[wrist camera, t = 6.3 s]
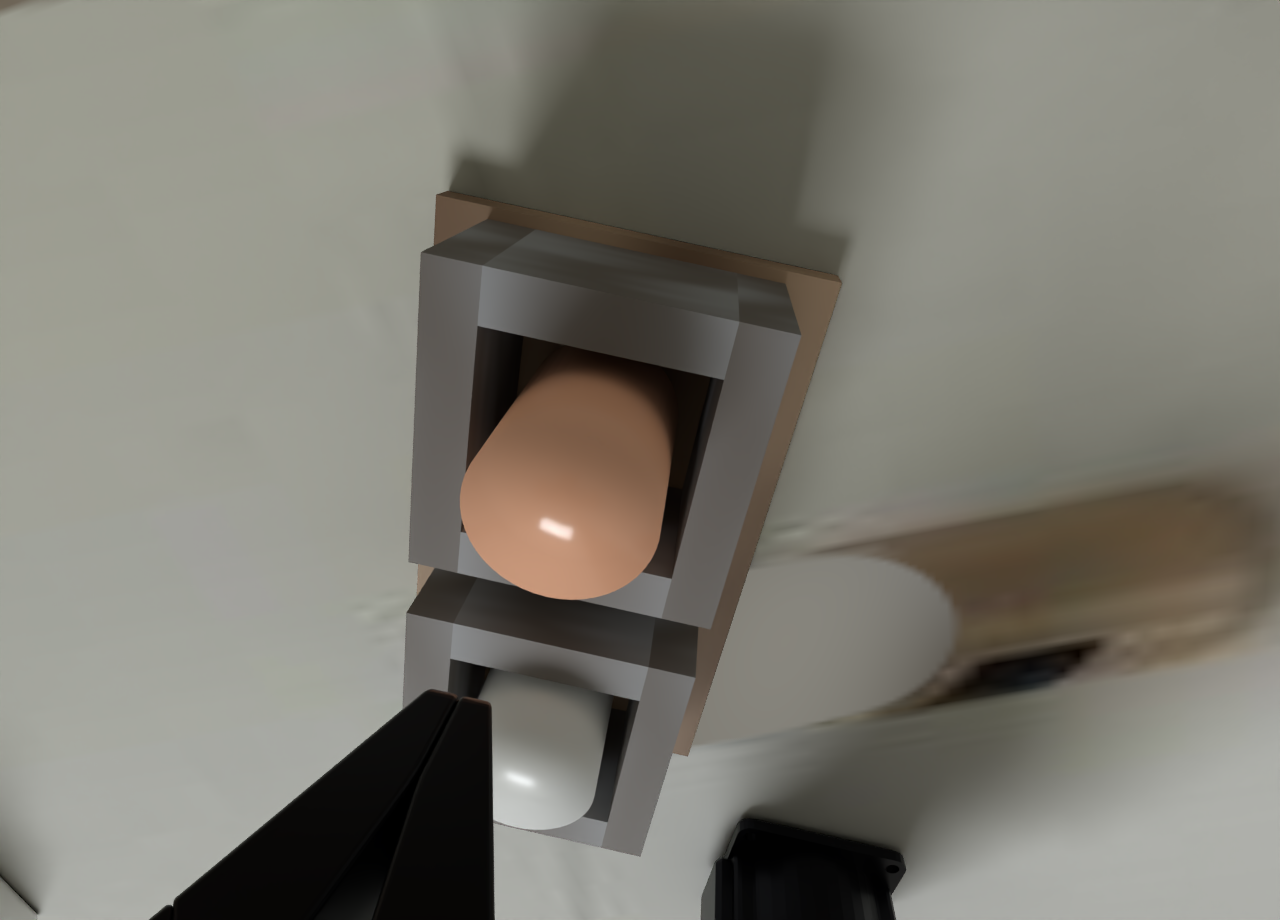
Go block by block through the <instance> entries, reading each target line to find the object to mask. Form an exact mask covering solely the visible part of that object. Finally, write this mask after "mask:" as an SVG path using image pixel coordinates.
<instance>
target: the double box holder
mask: <svg viewBox="0 0 1280 920" xmlns="http://www.w3.org/2000/svg"><path fill="white" fill-rule="evenodd" d="M841 285H842V282H841V280H840V279H839V277H838V276H837V275H833V274H828V273H823V272H819V271H814V270H810V269H805V268H800V267H796V266H791V265H787V264H782V263H777V262H773V261H768V260H764V259H759V258H754V257H750V256H745V255H741V254H736V253H731V252H727V251H722V250H718V249H713V248H708V247H704V246H699V245H695V244H690V243H685V242H681V241H676V240H672V239H667V238H662V237H658V236H653V235H649V234H644V233H639V232H635V231H630V230H626V229H621V228H616V227H612V226H607V225H603V224H598V223H593V222H589V221H584V220H580V219H575V218H570V217H566V216H561V215H557V214H552V213H547V212H543V211H538V210H534V209H529V208H524V207H520V206H515V205H511V204H506V203H501V202H497V201H492V200H488V199H483V198H478V197H474V196H469V195H465V194H460V193H455V192H451V191H446V192H443V193H440V194H437V195H436V210H435V231H434V246H432V247H430V248H428V249H426V250H424V251H422V252H421V263H420V288H419V313H418V338H417V363H416V388H415V413H414V438H413V463H412V488H411V513H410V538H409V562H411V563H416V564H418V582H417V597H416V599H415V600H414V602H413V603H412V605H411V606H410V608H409V610H408V611H407V613H406V638H405V663H404V687H403V709H404V708H405V707H406V706H407V705H409V704H410V703H411V702H412V701H413V700H415V699H416V698H417V697H418V696H419V695H421V694H422V693H423V692H424V691H426V690H429V689H436V690H440V691H444V692H449V693H453V694H456V695H457V696H458V697H459V699H460V698H461V697H471V698H475V699H478V697H479V695H480V692H481V690H482V688H483V685H484V683H485V680H486V678H487V676H488V673H489V671H490V668H494V669H499V670H503V671H508V672H512V673H517V674H521V675H526V676H530V677H534V678H539V679H543V680H548V681H552V682H557V683H561V684H565V685H570V686H574V687H579V688H583V689H588V690H592V691H597V692H601V693H605V694H610V695H614V697H613V702H612V707H611V713H610V718H609V723H608V728H607V733H606V739H605V744H604V749H603V754H602V760H601V765H600V770H599V775H598V780H597V786H596V791H595V796H594V800H593V803H592V805H591V807H590V808H589V810H588V811H587V812H586V813H585V814H584V815H583V816H582V817H581V818H580V819H578V820H576V821H575V822H573V823H571V824H568V825H566V826H562V827H559V828H554V829H546V830H531V829H522V828H517V827H513V826H509V825H506V824H503V823H500V822H497V821H495V820H493V823H495V824H500V825H504V826H509V827H513V828H517V829H522V830H526V831H530V832H535V833H539V834H544V835H548V836H552V837H557V838H561V839H566V840H570V841H574V842H579V843H583V844H588V845H592V846H596V847H601V848H605V849H609V850H614V851H618V852H623V853H627V854H631V855H636V856H641V853H642V850H643V846H644V843H645V840H646V837H647V833H648V830H649V827H650V824H651V820H652V817H653V814H654V811H655V808H656V804H657V801H658V798H659V795H660V791H661V788H662V785H663V782H664V778H665V775H666V772H667V769H668V766H669V762H670V759H671V756H672V753H675V754H679V755H684V756H688V755H689V752H690V748H691V745H692V742H693V739H694V736H695V733H696V730H697V727H698V724H699V721H700V718H701V715H702V712H703V709H704V706H705V702H706V699H707V696H708V693H709V690H710V687H711V684H712V681H713V678H714V675H715V672H716V669H717V666H718V662H719V659H720V656H721V653H722V650H723V647H724V644H725V641H726V638H727V635H728V632H729V629H730V626H731V623H732V620H733V617H734V613H735V610H736V607H737V604H738V601H739V598H740V595H741V592H742V589H743V586H744V583H745V579H746V577H747V573H748V570H749V567H750V564H751V561H752V558H753V555H754V552H755V549H756V546H757V543H758V540H759V537H760V534H761V531H762V527H763V524H764V521H765V518H766V515H767V512H768V509H769V506H770V503H771V500H772V497H773V494H774V491H775V488H776V485H777V481H778V478H779V475H780V472H781V469H782V466H783V463H784V460H785V457H786V454H787V451H788V448H789V445H790V442H791V438H792V435H793V432H794V429H795V426H796V423H797V420H798V417H799V414H800V411H801V408H802V405H803V402H804V399H805V396H806V392H807V389H808V386H809V383H810V380H811V377H812V374H813V371H814V368H815V365H816V362H817V359H818V356H819V353H820V349H821V346H822V343H823V340H824V337H825V334H826V331H827V328H828V325H829V322H830V319H831V316H832V313H833V310H834V307H835V303H836V300H837V297H838V294H839V291H840V288H841ZM564 345H567V346H572V347H576V348H581V349H585V350H590V351H595V352H599V353H604V354H608V355H613V356H617V357H622V358H626V359H631V360H636V361H640V362H645V363H649V364H654V365H658V366H660V367H661V368H662V369H663V371H664V372H665V373H666V375H667V376H668V378H669V380H670V381H671V384H672V386H673V388H674V391H675V394H676V398H677V402H678V424H677V431H676V437H675V443H674V450H673V456H672V463H671V469H670V476H669V482H668V488H667V495H666V501H665V508H664V514H663V520H662V527H661V533H660V539H659V543H658V546H657V549H656V551H655V553H654V555H653V557H652V559H651V561H650V562H649V564H648V565H647V566H646V568H645V569H644V570H643V571H642V572H641V573H640V574H639V575H638V576H637V577H636V578H635V579H634V580H632V581H631V582H630V583H628V584H627V585H625V586H624V587H622V588H620V589H618V590H616V591H614V592H611V593H609V594H606V595H602V596H599V597H595V598H588V599H578V600H567V599H556V598H551V597H545V596H542V595H538V594H535V593H532V592H530V591H527V590H524V589H522V588H520V587H518V586H516V585H514V584H512V583H511V582H509V581H508V580H506V579H505V578H503V577H502V576H500V575H499V574H498V573H497V572H495V571H494V570H493V569H492V568H491V567H490V566H489V565H488V564H487V563H486V562H485V561H484V560H483V559H482V558H481V556H480V555H479V554H478V552H477V551H476V550H475V548H474V547H473V545H472V543H471V542H470V540H469V538H468V535H467V533H466V531H465V528H464V525H463V521H462V518H461V511H460V492H461V486H462V482H463V479H464V476H465V473H466V471H467V469H468V467H469V465H470V463H471V462H472V461H473V459H474V458H475V456H476V455H477V454H478V452H479V451H480V449H481V448H482V446H483V445H484V444H485V442H486V441H487V439H488V438H489V437H490V435H491V434H492V432H493V431H494V429H495V428H496V427H497V425H498V424H499V422H500V421H501V420H502V418H503V417H504V415H505V414H506V412H507V411H508V410H509V408H510V407H511V405H512V404H513V403H514V401H515V400H516V398H517V397H518V395H519V394H520V393H521V391H522V390H523V388H524V387H525V386H526V384H527V383H528V381H529V380H530V378H531V377H532V376H533V374H534V373H535V371H536V370H537V369H538V367H539V366H540V365H541V363H542V362H543V361H544V360H545V359H546V358H547V357H548V356H549V355H550V354H551V353H553V352H554V351H555V350H557V349H558V348H560V347H562V346H564Z"/></svg>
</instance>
